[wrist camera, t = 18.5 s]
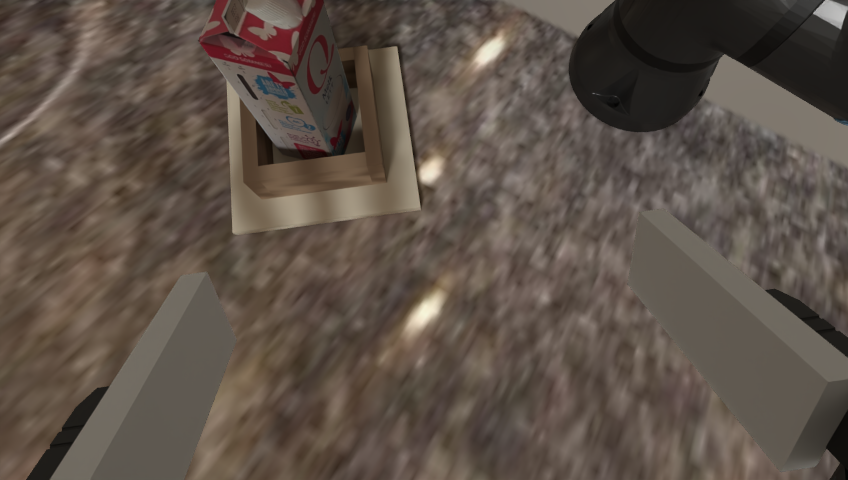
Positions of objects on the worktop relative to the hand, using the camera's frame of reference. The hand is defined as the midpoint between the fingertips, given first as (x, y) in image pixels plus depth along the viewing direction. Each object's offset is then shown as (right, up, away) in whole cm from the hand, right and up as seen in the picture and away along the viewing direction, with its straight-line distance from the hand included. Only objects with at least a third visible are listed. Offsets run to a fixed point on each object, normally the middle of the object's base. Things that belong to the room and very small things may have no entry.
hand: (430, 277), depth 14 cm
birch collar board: (-12, +13, +37) cm, 41 cm away
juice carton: (-12, +13, +36) cm, 40 cm away
